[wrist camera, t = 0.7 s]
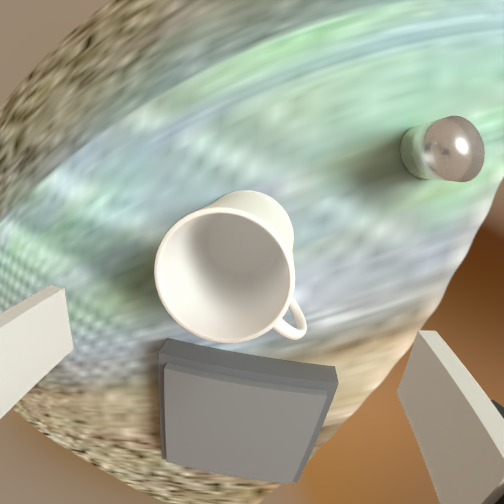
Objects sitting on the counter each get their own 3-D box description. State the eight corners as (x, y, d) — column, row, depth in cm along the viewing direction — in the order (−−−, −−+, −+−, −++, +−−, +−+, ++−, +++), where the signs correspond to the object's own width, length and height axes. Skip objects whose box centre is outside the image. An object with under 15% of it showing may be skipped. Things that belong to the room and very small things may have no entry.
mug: (331, 275, 29) (357, 338, 18) (257, 323, 31) (243, 402, 20) (255, 171, 28) (235, 169, 16) (182, 227, 30) (123, 262, 18)
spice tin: (396, 171, 26) (428, 172, 20) (403, 120, 25) (435, 107, 18) (441, 183, 26) (480, 189, 19) (447, 134, 25) (486, 127, 18)
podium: (168, 443, 37) (159, 463, 33) (167, 338, 33) (154, 357, 29) (297, 466, 36) (297, 488, 32) (334, 366, 32) (339, 389, 28)
